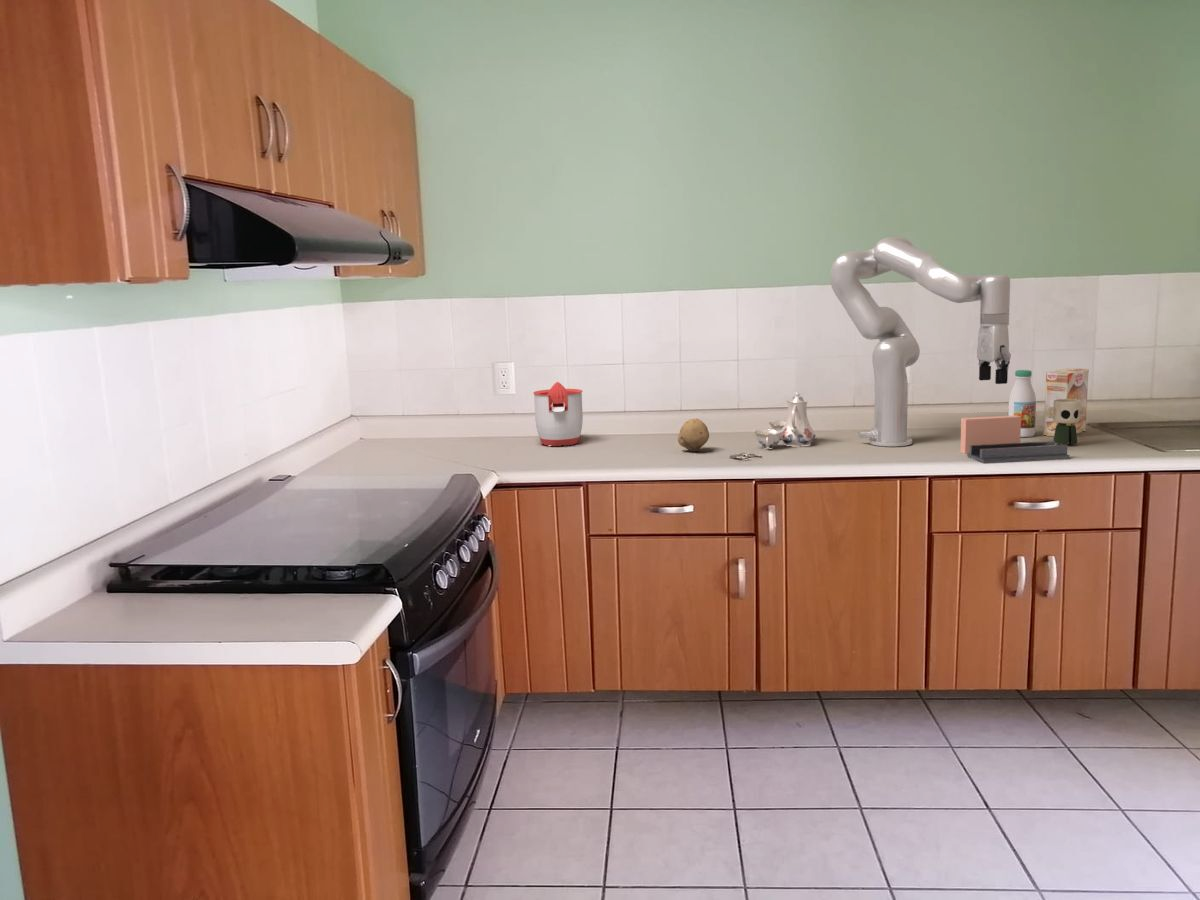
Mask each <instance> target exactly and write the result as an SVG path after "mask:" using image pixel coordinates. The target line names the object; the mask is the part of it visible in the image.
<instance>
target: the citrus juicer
mask: <svg viewBox="0 0 1200 900" xmlns="http://www.w3.org/2000/svg"><path fill="white" fill-rule="evenodd" d="M532 394H533V397H534V415H535V420H534V421H535V426H536V432H537V434H538V437H539V441H540V443H541V444H542V445H543V444H544V445H543V446H547V445H552V447H561V445H564V446H567V445H572V444H573V445H575V444H578V443H579V441H580V438H581V433H582V428H583V421H584V420H583V418H584V417H583V415H584V414H583V390H582V389H578V388H565V386H564V384H562V383H560V382H559V381H556V382H555V383H554V384H553V385H552V386H551V387H550V389H541V390H536V391H534V392H533V393H532ZM573 445H572V446H573Z"/></svg>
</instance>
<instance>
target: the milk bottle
mask: <svg viewBox="0 0 1200 900" xmlns="http://www.w3.org/2000/svg"><path fill="white" fill-rule="evenodd" d="M1032 373H1033V372H1032V370H1028V369H1021V370H1020V369H1017V370H1016V371H1014V378H1015V382H1014V385H1013V387H1012V389H1011V391H1010V394H1009V397H1008V412H1007V413H1008V414H1007V416H1020V417H1021V434H1020V438H1032V437H1034V436H1035V432H1036V415H1037V414H1036V411H1037V410H1036V409H1037V403H1036V402H1037V400H1036V399H1037V398H1036V393H1035V390H1034V388H1033V386H1032V381H1031V378H1032V375H1033V374H1032Z"/></svg>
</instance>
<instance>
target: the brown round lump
mask: <svg viewBox="0 0 1200 900" xmlns="http://www.w3.org/2000/svg"><path fill="white" fill-rule="evenodd" d="M709 437H710V433H709V429H708V426H707V425H706V424H705V422H703V420H701V419H698V418H690V419H688V420H686V421H685V422H684V423H683V424H682V426H681V428H680V431H679V433H678V435H677V442H678V444H679V445H680V446H681V447H683V448H685V449H686V450H688V451H690V452H693V453H695V452H698V451H699V450H700V449H702V447H704V446H705V445H706V444H707V442H708V441H709Z"/></svg>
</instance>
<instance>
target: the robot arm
mask: <svg viewBox="0 0 1200 900" xmlns="http://www.w3.org/2000/svg"><path fill="white" fill-rule="evenodd" d="M891 271H892V272H895V273H897V274H899V275H902V276H903V277H906V278H908V279H910V280H912V281H914V282H916V283H918V285H920V286H921V287H923V288H924V289H925V290H927V291H929V292H930V293H933V294H935V295H936V296H939V297H941V298H943V299H945V300H947V301H950V302H953V303H956V304H962V303H971V302H977V301H980V303H979V304H980V305H979V306H980V307H979V308H980V309H979V310H980V311H979V331H978V337H977V348H976V358H977V360H978V367H979V368H978V380H979V381H991V378H992V377H991V376H992V365H991V363H993V362H994V363H995V366H996V369H995V377H994V379H995V381H994V382H995V384H996V385H1002V384H1003V385H1004V384H1007V383H1008V376H1009V375H1008V371H1009V367H1010V360H1011V356H1012V355H1011V353H1010V339H1009V338H1010V337H1009V336H1010V335H1009V326H1010V306H1011V305H1010V302H1011V301H1010V300H1011V298H1010V297H1011V278H1010V276H1009V275H1006V274H990V275H978V274H959V273H956V272H954V271H952V270H949V268H948V269H947V268H945V267H943V266H941V265H940V264H939V263H937V262H936V261H935V257H934V256H933V255H932V254H931V253H929V252H926V251H924V250H922V249H920V248H917V247H916V246H913V244H912V242H911V241H910V240H909V239H907V238H905V237H900V236H899V237H898V236H896V237H895V236H889V237H888V236H887V237H884V238H881V239H880V240H878V242H877V243H876V244H875V245H874V247H873V248H870V249H866V250H852V251H851V250H849V251H845V252H844V253H843V252H842V253H841V254H839V255H838V256H837V257H836V258H835V259H834V261H833V263H832V265H831V268H830V273H829V281H830V285H831V289H832V291H833V293H834V295H835V296H836V297H837V299H838V301H839V302H840V304H841V305H842V307H843V308H844V310H845V311H846V314H847V315H848V317H849V318H850V319H851V321H852V322H853V325H854V326H855V328H856V329H857V331H858V332H859V334H860V335H861V336H862V338H865V339H866V340H871V341H872V340H879V342H878V343H877V344H876V345H875V346H874V349H873V351H872V356H871V358H872V359H871V360H872V367H873V368H872V369H873V374H874V375H873V376H874V414H873V415H874V416H873V417H874V418H873V419H874V422H873V423H874V425H873V426H874V427H871V428H870V430H868V431H858V433H857V437H858V438H859V439H862V438H863V439H864V438H865V439H868V444H870V445H872V446H878V447H904V446H910V445H912V444H913V439H912V438H910V437H908V398H909V394H908V393H909V391H908V390H909V389H908V387H909V382H908V376H907V371H906V368H908V367H911V366H913V365H914V364H915V363H916V362H917V361H918V360H919V357H920V354H921V353H920V351H921V350H920V345H919V343H918V341H917V339H916V338H915V336H914V335H913V333H912V331H911V330H910V328H909V327H908V325H907V324H906V322H905V321H904V319H903V318H902V316H901V315H900V314H899V313H898V312H897V310H895V309H894V308H892V307H888V306H879V304H878V303H877V302H876V301H875V299H874V298H873V297H872V295H871V293H870V291H869V290H868V289H867V288H866V287H865V286H864V285H863V284H862V283H861V281H860V280H868V279H872V278H876V277H877V276H880V275H883V274H885V273H888V272H891Z"/></svg>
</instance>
